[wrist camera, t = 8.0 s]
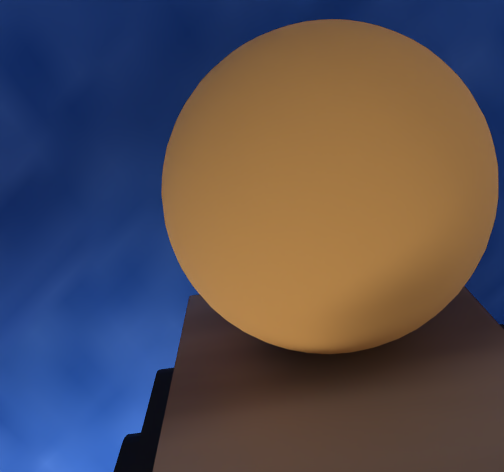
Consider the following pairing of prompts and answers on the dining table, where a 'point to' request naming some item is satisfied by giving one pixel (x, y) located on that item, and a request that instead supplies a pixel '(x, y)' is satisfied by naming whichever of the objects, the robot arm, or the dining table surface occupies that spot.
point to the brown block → (337, 400)
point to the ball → (330, 186)
